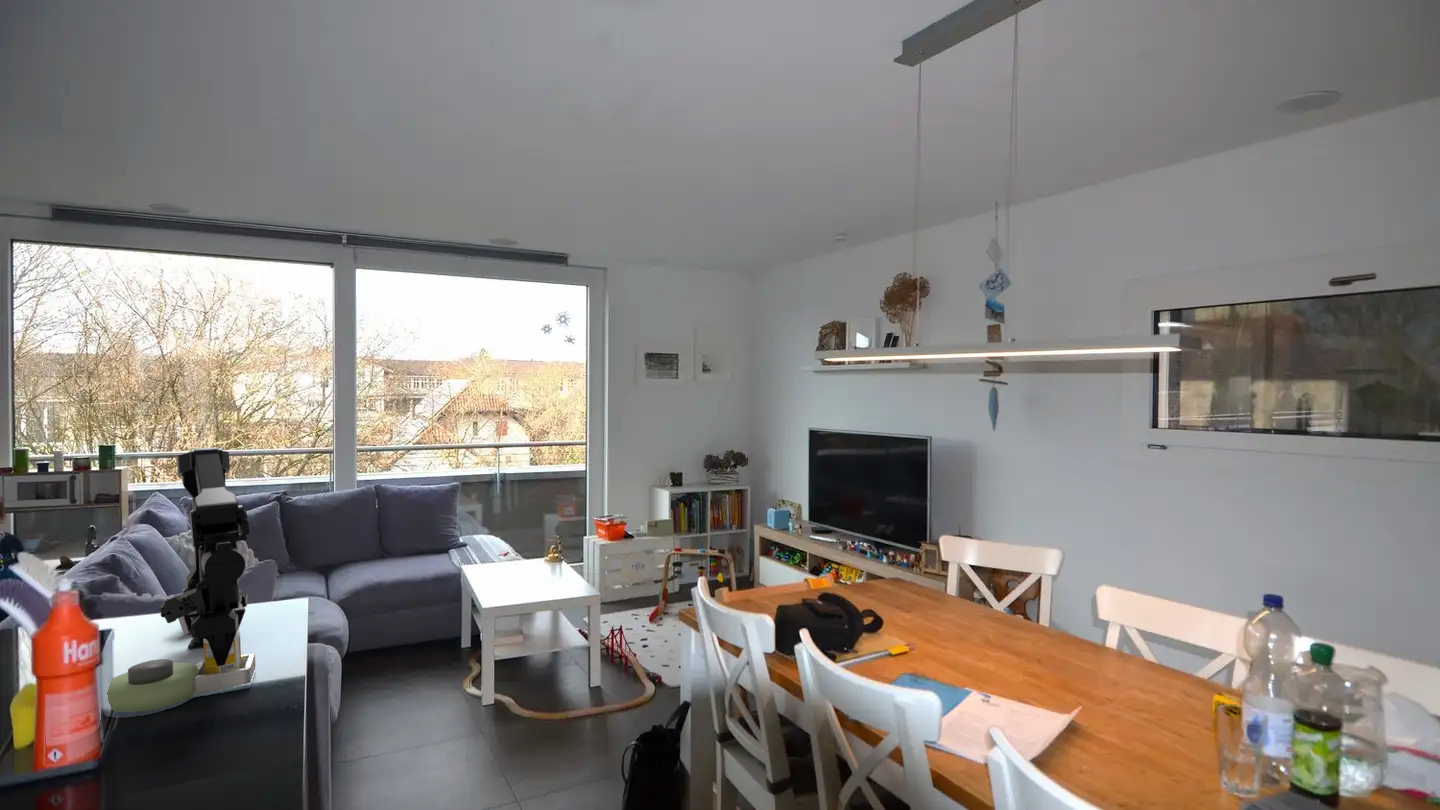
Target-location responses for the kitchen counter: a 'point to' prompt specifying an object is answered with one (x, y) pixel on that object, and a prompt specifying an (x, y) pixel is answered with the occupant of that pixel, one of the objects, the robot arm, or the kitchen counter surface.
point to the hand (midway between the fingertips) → (223, 660)
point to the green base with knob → (151, 686)
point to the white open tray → (224, 676)
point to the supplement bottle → (232, 659)
